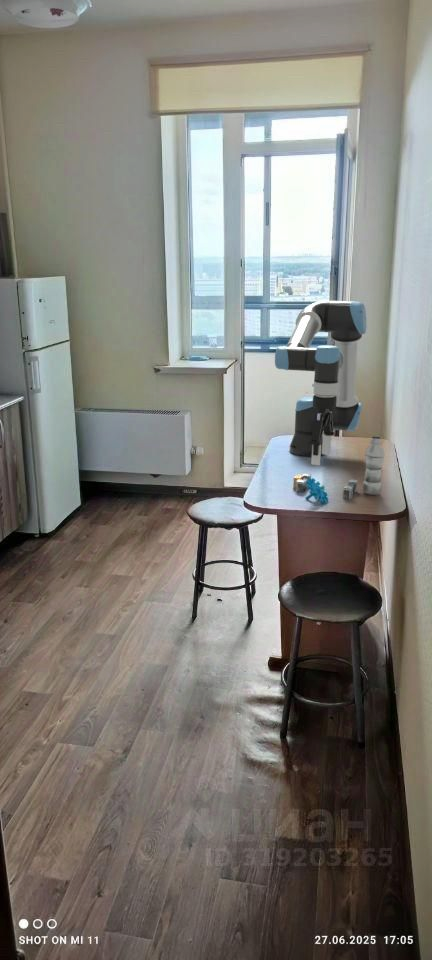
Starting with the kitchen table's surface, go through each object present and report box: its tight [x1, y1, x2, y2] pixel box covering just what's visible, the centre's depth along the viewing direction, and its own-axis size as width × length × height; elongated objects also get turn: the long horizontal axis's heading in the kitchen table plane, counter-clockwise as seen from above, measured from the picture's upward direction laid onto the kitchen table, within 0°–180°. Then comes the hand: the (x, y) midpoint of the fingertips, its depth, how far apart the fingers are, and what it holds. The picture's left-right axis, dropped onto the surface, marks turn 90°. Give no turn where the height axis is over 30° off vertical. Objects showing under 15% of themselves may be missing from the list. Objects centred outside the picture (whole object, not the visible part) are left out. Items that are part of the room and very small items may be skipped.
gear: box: [305, 477, 329, 504], centre depth 227 cm, size 11×6×10 cm
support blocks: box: [292, 473, 358, 500], centre depth 237 cm, size 10×21×4 cm, turn 67°
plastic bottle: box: [362, 436, 386, 496], centre depth 232 cm, size 6×7×20 cm
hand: (320, 459), depth 223 cm, fingers open, 13 cm apart
